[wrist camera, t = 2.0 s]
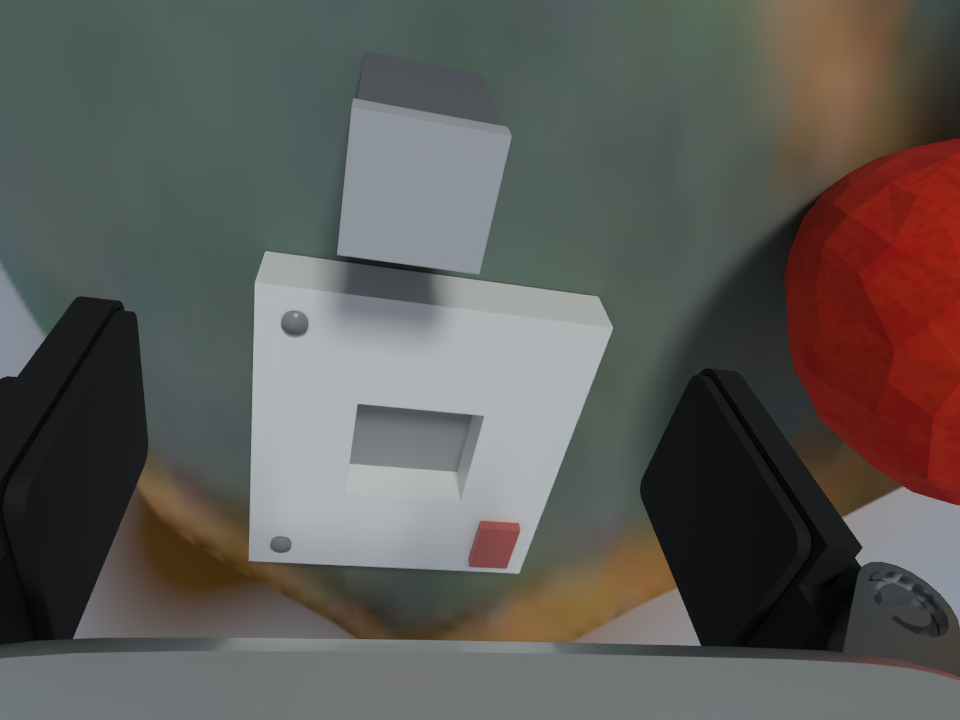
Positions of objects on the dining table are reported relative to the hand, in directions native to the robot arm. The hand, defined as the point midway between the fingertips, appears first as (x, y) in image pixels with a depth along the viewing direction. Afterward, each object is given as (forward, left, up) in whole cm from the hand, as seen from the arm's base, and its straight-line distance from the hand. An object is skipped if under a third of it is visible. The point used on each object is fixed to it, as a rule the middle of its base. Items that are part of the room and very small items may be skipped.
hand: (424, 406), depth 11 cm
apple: (-19, +1, -16) cm, 25 cm away
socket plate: (-2, +14, -16) cm, 21 cm away
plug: (0, 0, -16) cm, 16 cm away
